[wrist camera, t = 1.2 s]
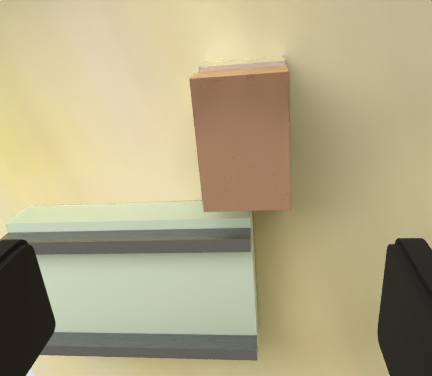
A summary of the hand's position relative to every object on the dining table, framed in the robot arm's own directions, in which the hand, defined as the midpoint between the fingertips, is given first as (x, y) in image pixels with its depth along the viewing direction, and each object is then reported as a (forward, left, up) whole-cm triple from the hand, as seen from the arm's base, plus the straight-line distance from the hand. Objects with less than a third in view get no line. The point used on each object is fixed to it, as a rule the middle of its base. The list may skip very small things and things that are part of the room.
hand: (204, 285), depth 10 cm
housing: (0, 0, -18) cm, 18 cm away
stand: (+9, +12, -18) cm, 24 cm away
